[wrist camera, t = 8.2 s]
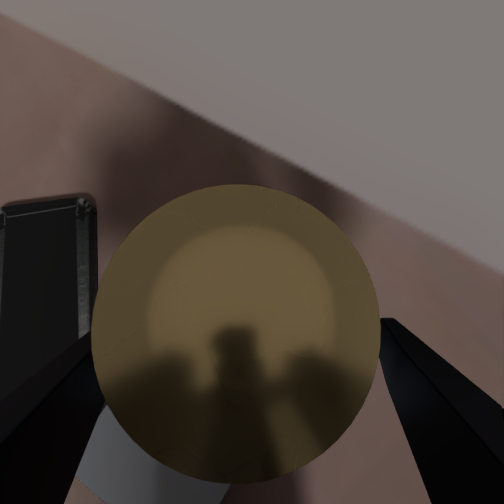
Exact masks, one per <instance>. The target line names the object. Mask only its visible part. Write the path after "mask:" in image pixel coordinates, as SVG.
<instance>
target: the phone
mask: <svg viewBox="0 0 504 504" xmlns="http://www.w3.org/2000/svg"><path fill="white" fill-rule="evenodd" d="M97 292H98V248H97V211H96V208H95V206H94V205H93V204H92V203H90V202H89V201H87V200H85V199H83V198H68V199H60V200H53V201H45V202H37V203H29V204H22V205H14V206H6V207H2V208H0V400H1V399H2V398H3V397H5V396H6V395H7V394H9V393H10V392H11V391H12V390H14V389H15V388H16V387H18V386H19V385H20V384H21V383H23V382H24V381H25V380H27V379H28V378H29V377H31V376H32V375H33V374H34V373H36V372H37V371H38V370H40V369H41V368H42V367H43V366H45V365H46V364H47V363H49V362H50V361H51V360H53V359H54V358H55V357H56V356H58V355H59V354H60V353H62V352H63V351H64V350H65V349H67V348H68V347H69V346H71V345H72V344H73V343H75V342H76V341H77V340H78V339H80V338H81V337H82V336H84V335H85V334H86V333H87V332H89V331H90V330H91V327H92V317H93V309H94V305H95V300H96V296H97Z"/></svg>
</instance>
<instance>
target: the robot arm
mask: <svg viewBox="0 0 504 504" xmlns="http://www.w3.org/2000/svg"><path fill="white" fill-rule="evenodd" d="M380 324H381V336H380V351H379V358H380V362H381V366H382V370H383V374H384V377H385V381H386V384H387V387H388V390H389V393H390V396H391V398H392V401H393V403H394V406H395V409H396V411H397V414H398V417H399V419H400V422H401V425H402V427H403V430H404V432H405V435H406V438H407V440H408V443H409V446H410V448H411V451H412V453H413V456H414V459H415V461H416V464H417V467H418V469H419V472H420V475H421V477H422V480H423V482H424V485H425V488H426V490H427V493H428V496H429V498H430V501H431V503H432V504H504V408H502V407H501V405H500V404H498V403H497V402H496V401H495V400H493V399H492V398H491V397H490V396H489V395H487V394H486V393H485V392H484V391H482V390H481V389H480V388H479V387H478V386H476V385H475V384H474V383H473V382H471V381H470V380H469V379H468V378H467V377H465V376H464V375H463V374H462V373H460V372H459V371H458V370H457V369H456V368H454V367H453V366H452V365H451V364H449V363H448V362H447V361H446V360H445V359H443V358H442V357H441V356H440V355H438V354H437V353H436V352H435V351H434V350H432V349H431V348H430V347H429V346H427V345H426V344H425V343H424V342H423V341H421V340H420V339H419V338H418V337H416V336H415V335H414V334H413V333H412V332H410V331H409V330H408V329H407V328H405V327H404V326H403V325H402V324H400V323H399V322H398V321H397V320H396V319H394V318H381V319H380ZM104 402H105V398H104V395H103V393H102V391H101V389H100V385H99V382H98V379H97V375H96V372H95V368H94V361H93V355H92V342H91V330H90V331H89V332H87V333H86V334H85V335H84V336H82V337H81V338H80V339H78V340H77V341H76V342H75V343H73V344H72V345H71V346H69V347H68V348H67V349H65V350H64V351H63V352H62V353H60V354H59V355H58V356H56V357H55V358H54V359H53V360H51V361H50V362H49V363H47V364H46V365H45V366H43V367H42V368H41V369H40V370H38V371H37V372H36V373H34V374H33V375H32V376H31V377H29V378H28V379H27V380H25V381H24V382H23V383H21V384H20V385H19V386H18V387H16V388H15V389H14V390H12V391H11V392H10V393H9V394H7V395H6V396H5V397H3V398H2V399H1V400H0V504H64V502H65V499H66V497H67V494H68V492H69V489H70V487H71V484H72V482H73V479H74V477H75V474H76V472H77V469H78V467H79V464H80V462H81V459H82V457H83V454H84V452H85V449H86V447H87V444H88V442H89V439H90V437H91V434H92V432H93V429H94V427H95V424H96V422H97V419H98V417H99V414H100V412H101V409H102V407H103V404H104Z"/></svg>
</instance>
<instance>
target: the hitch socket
mask: <svg viewBox="0 0 504 504" xmlns="http://www.w3.org/2000/svg"><path fill="white" fill-rule="evenodd" d="M75 477H76V478H77V479H78V480H80V481H81V482H82V483H83V484H84V485H85V486H87V487H88V488H89V489H90V490H91V491H92V492H93V493H95V494H96V495H97V496H98V497H99V498H100V499H102V500H103V501H104V502H105V503H106V504H220V502H221V500H222V499H223V497H224V495H225V494H226V492H227V490H228V489H229V487H230V485H231V484H221V483H215V482H209V481H202V480H199V479H196V478H193V477H190V476H187V475H183V474H181V473H179V472H177V471H175V470H173V469H171V468H169V467H167V466H165V465H163V464H162V463H160V462H159V461H157V460H156V459H154V458H153V457H151V456H150V455H148V454H147V453H146V452H145V451H144V450H143V449H142V448H140V447H139V446H138V445H137V444H136V443H135V442H134V441H133V440H132V439H131V438H130V437H129V436H128V434H127V433H126V432H125V431H124V429H123V428H122V427H121V426H120V425H119V423H118V421H117V420H116V418H115V417H114V415H113V413H112V412H111V410H110V408H109V407H108V405H107V406H106V407H105V408H104V410H103V411H102V413H101V414H100V416H99V417H98V419H97V422H96V424H95V427H94V429H93V432H92V434H91V437H90V439H89V442H88V444H87V447H86V449H85V452H84V454H83V457H82V459H81V462H80V464H79V467H78V469H77V472H76V474H75Z"/></svg>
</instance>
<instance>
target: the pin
mask: <svg viewBox="0 0 504 504" xmlns="http://www.w3.org/2000/svg"><path fill="white" fill-rule="evenodd" d="M380 336H381V324H380V315H379V306H378V302H377V297H376V293H375V289H374V286H373V283H372V280H371V278H370V275H369V272H368V270H367V268H366V266H365V264H364V262H363V260H362V258H361V256H360V255H359V253H358V251H357V250H356V248H355V247H354V246H353V244H352V243H351V241H350V240H349V238H348V237H347V236H346V235H345V234H344V233H343V232H342V231H341V229H340V228H339V227H338V226H337V225H336V224H335V223H334V222H333V221H331V220H330V219H329V218H328V217H327V216H326V215H324V214H323V213H322V212H321V211H319V210H318V209H316V208H315V207H313V206H312V205H310V204H309V203H307V202H305V201H303V200H301V199H299V198H297V197H295V196H293V195H290V194H287V193H285V192H282V191H279V190H276V189H272V188H267V187H263V186H257V185H247V184H227V185H219V186H212V187H207V188H203V189H200V190H196V191H192V192H190V193H187V194H185V195H182V196H180V197H178V198H175V199H173V200H172V201H170V202H168V203H166V204H165V205H163V206H161V207H160V208H158V209H157V210H155V211H154V212H153V213H151V214H150V215H149V216H147V217H146V218H145V219H144V220H143V221H142V222H141V223H140V224H138V225H137V226H136V227H135V228H134V229H133V230H132V231H131V233H130V234H129V235H128V236H127V237H126V239H125V240H124V241H123V242H122V243H121V245H120V246H119V248H118V249H117V251H116V252H115V254H114V256H113V257H112V259H111V261H110V263H109V265H108V267H107V269H106V271H105V273H104V275H103V278H102V280H101V283H100V286H99V289H98V292H97V296H96V300H95V305H94V309H93V317H92V327H91V342H92V355H93V361H94V368H95V372H96V375H97V379H98V382H99V385H100V389H101V391H102V393H103V395H104V398H105V400H106V402H107V405H108V407H109V408H110V410H111V412H112V413H113V415H114V417H115V418H116V420H117V421H118V423H119V425H120V426H121V427H122V428H123V429H124V431H125V432H126V433H127V434H128V436H129V437H130V438H131V439H132V440H133V441H134V442H135V443H136V444H137V445H138V446H139V447H140V448H142V449H143V450H144V451H145V452H146V453H147V454H148V455H150V456H151V457H153V458H154V459H156V460H157V461H159V462H160V463H162V464H163V465H165V466H167V467H169V468H171V469H173V470H175V471H177V472H179V473H181V474H183V475H187V476H190V477H193V478H196V479H199V480H202V481H209V482H215V483H221V484H247V483H254V482H261V481H266V480H270V479H273V478H276V477H279V476H283V475H286V474H288V473H290V472H292V471H294V470H296V469H298V468H301V467H303V466H305V465H306V464H308V463H309V462H311V461H312V460H314V459H315V458H317V457H318V456H320V455H321V454H323V453H324V452H325V451H326V450H327V449H328V448H329V447H330V446H331V445H333V444H334V443H335V442H336V441H337V440H338V439H339V438H340V437H341V435H342V434H343V433H344V432H345V431H346V429H347V428H348V427H349V426H350V425H351V423H352V422H353V420H354V419H355V417H356V415H357V414H358V412H359V411H360V409H361V407H362V406H363V404H364V402H365V399H366V397H367V395H368V393H369V390H370V388H371V386H372V382H373V379H374V375H375V372H376V369H377V364H378V358H379V351H380Z"/></svg>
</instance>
